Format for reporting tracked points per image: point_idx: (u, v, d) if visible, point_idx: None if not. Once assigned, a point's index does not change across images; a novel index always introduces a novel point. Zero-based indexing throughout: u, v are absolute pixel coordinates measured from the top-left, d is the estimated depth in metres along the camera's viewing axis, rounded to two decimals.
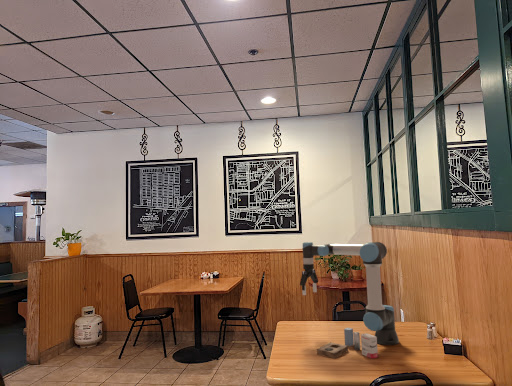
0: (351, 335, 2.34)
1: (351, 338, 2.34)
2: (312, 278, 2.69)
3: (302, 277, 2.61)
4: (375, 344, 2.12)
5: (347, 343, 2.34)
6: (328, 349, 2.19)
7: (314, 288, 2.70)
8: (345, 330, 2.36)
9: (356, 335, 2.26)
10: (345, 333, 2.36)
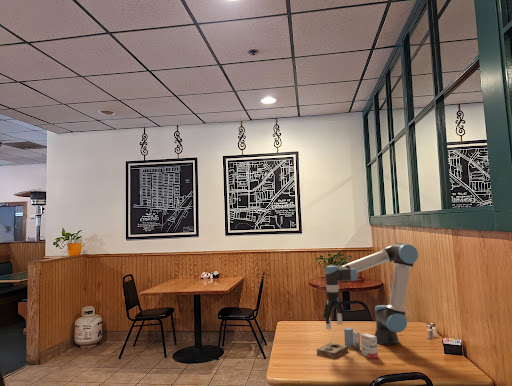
0: (351, 335, 2.34)
1: (351, 338, 2.34)
2: (337, 308, 2.30)
3: (326, 308, 2.21)
4: (375, 344, 2.12)
5: (347, 343, 2.34)
6: (328, 349, 2.19)
7: (338, 319, 2.31)
8: (345, 330, 2.36)
9: (356, 335, 2.26)
10: (345, 333, 2.36)
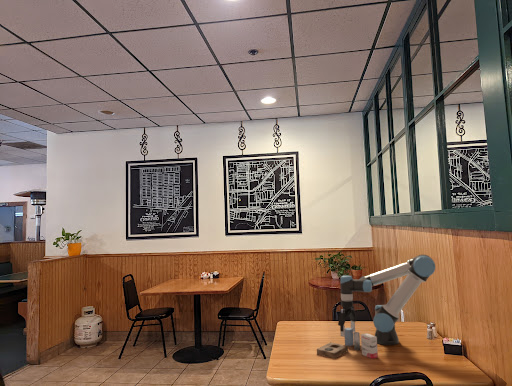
0: (351, 335, 2.34)
1: (351, 338, 2.34)
2: (350, 316, 2.41)
3: (341, 316, 2.32)
4: (375, 344, 2.12)
5: (347, 343, 2.34)
6: (328, 349, 2.19)
7: (352, 327, 2.42)
8: (345, 330, 2.36)
9: (356, 335, 2.26)
10: (345, 333, 2.36)
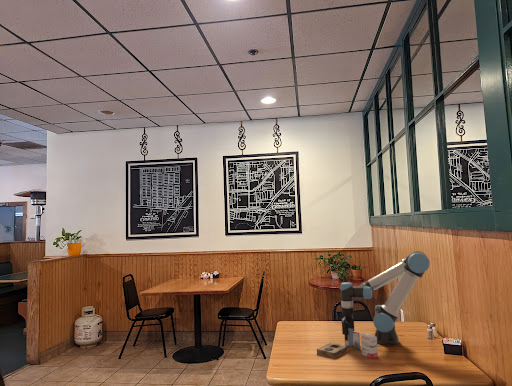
0: (351, 335, 2.34)
1: (351, 338, 2.34)
2: (349, 325, 2.38)
3: (343, 326, 2.33)
4: (375, 344, 2.12)
5: None
6: (328, 349, 2.19)
7: None
8: None
9: (356, 335, 2.26)
10: None
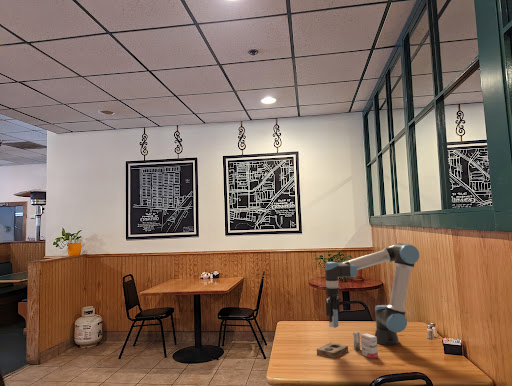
0: (335, 316, 2.25)
1: (336, 319, 2.25)
2: (334, 306, 2.29)
3: (327, 306, 2.23)
4: (375, 344, 2.12)
5: None
6: (328, 349, 2.19)
7: None
8: None
9: (356, 335, 2.26)
10: None
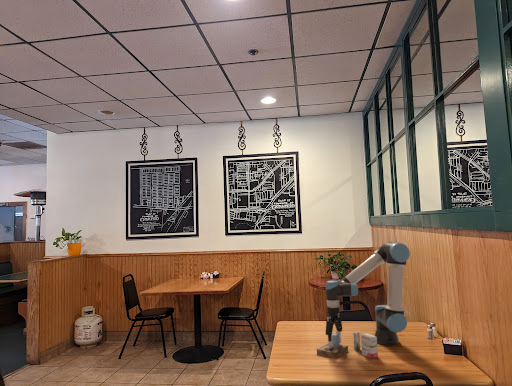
0: (337, 341, 2.23)
1: (337, 344, 2.23)
2: (336, 325, 2.28)
3: (327, 325, 2.21)
4: (375, 344, 2.12)
5: None
6: (328, 349, 2.19)
7: None
8: None
9: (356, 335, 2.26)
10: None
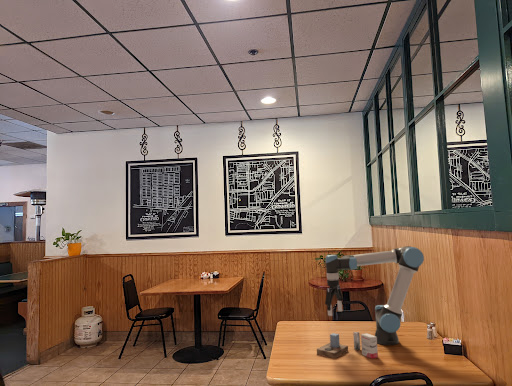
0: (337, 341, 2.23)
1: (337, 344, 2.23)
2: (337, 295, 2.39)
3: (327, 295, 2.29)
4: (375, 344, 2.12)
5: None
6: (328, 349, 2.19)
7: (339, 306, 2.40)
8: (331, 336, 2.25)
9: (356, 335, 2.26)
10: (331, 339, 2.24)
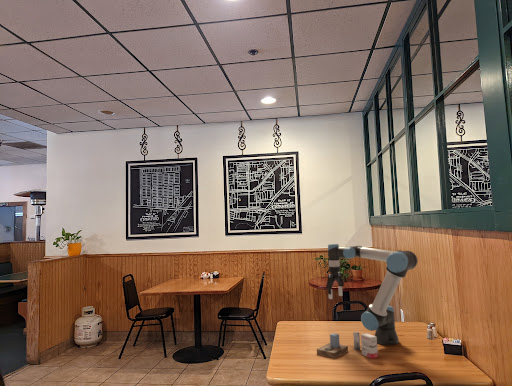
0: (337, 341, 2.23)
1: (337, 344, 2.23)
2: (338, 281, 2.59)
3: (328, 280, 2.50)
4: (375, 344, 2.12)
5: None
6: (328, 349, 2.19)
7: (339, 291, 2.60)
8: (331, 336, 2.25)
9: (356, 335, 2.26)
10: (331, 339, 2.24)
